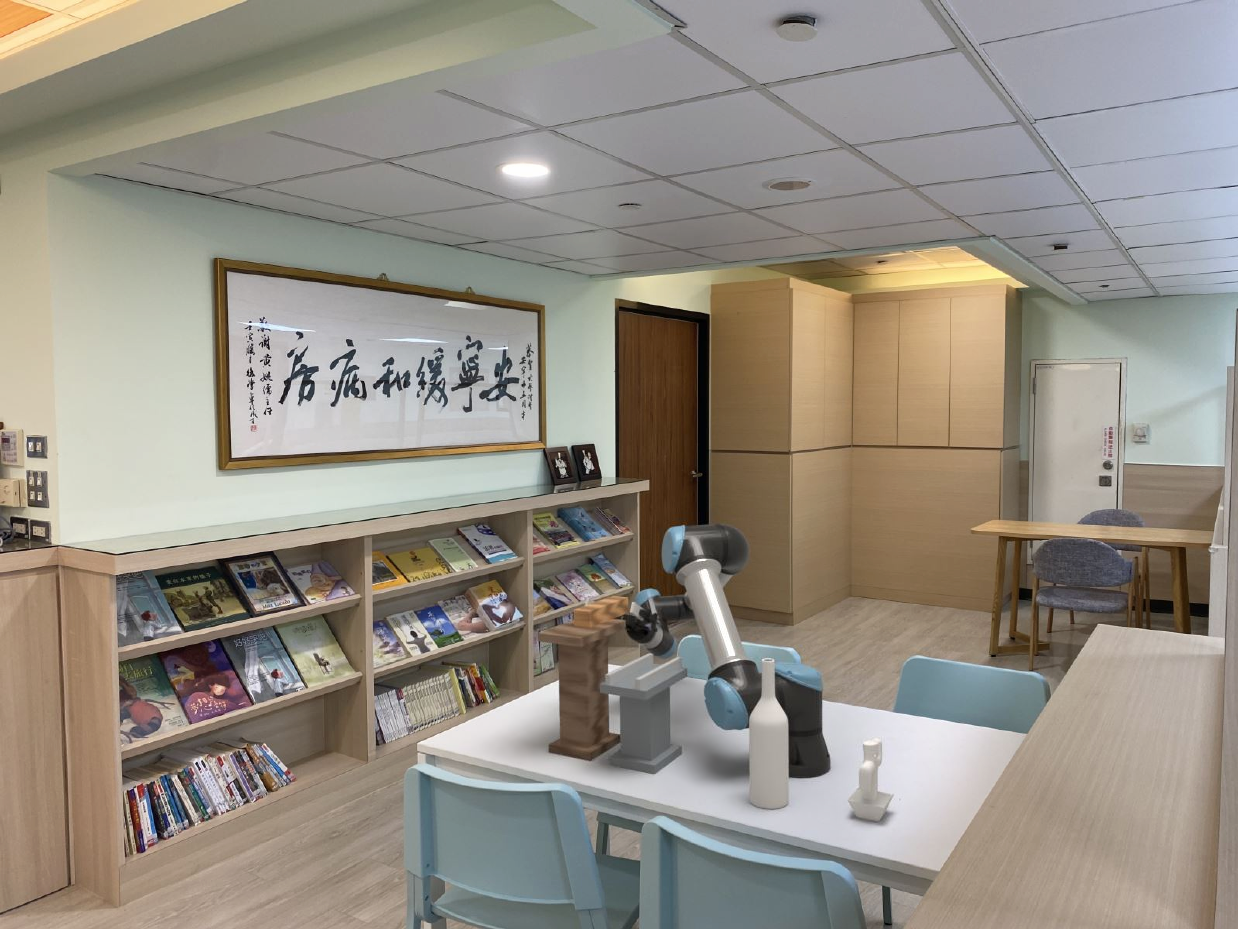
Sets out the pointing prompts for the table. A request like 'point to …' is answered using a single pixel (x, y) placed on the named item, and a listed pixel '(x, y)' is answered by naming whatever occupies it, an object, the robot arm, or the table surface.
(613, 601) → the wooden grain block
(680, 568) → the robot arm
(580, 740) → the tall stand
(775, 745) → the bottle
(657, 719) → the cradle
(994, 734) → the table surface
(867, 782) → the figurine
